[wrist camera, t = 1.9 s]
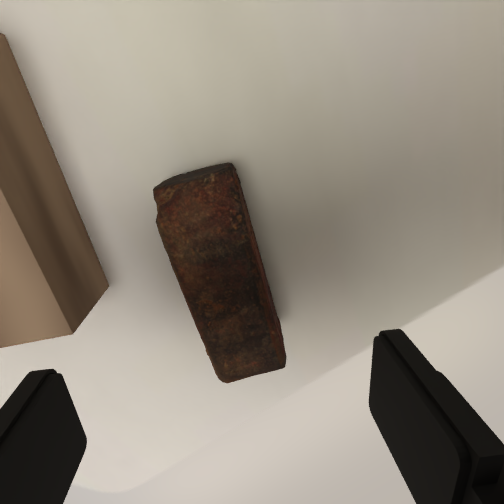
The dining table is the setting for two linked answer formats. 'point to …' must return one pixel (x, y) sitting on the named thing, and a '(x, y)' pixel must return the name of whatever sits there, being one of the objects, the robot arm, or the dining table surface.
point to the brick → (220, 270)
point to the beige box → (38, 227)
